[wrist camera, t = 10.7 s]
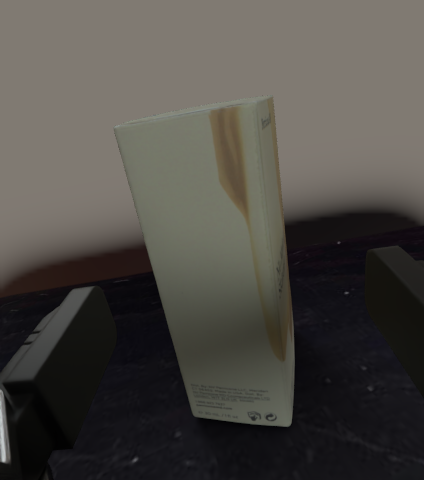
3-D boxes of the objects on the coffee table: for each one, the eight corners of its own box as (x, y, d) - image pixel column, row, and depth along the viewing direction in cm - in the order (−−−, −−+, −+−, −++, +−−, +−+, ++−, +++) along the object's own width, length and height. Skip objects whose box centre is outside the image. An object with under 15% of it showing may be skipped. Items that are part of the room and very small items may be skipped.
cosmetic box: (294, 433, 13) (259, 97, 8) (190, 421, 14) (101, 126, 9) (295, 323, 18) (276, 88, 13) (221, 322, 19) (177, 107, 14)
